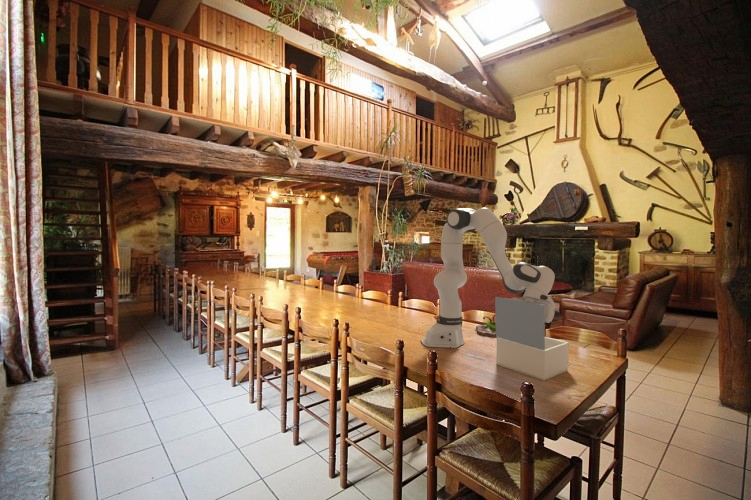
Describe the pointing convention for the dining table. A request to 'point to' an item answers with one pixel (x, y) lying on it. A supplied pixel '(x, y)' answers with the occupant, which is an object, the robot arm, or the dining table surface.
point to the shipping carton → (534, 358)
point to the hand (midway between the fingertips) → (521, 326)
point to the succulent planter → (487, 328)
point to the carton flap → (520, 322)
